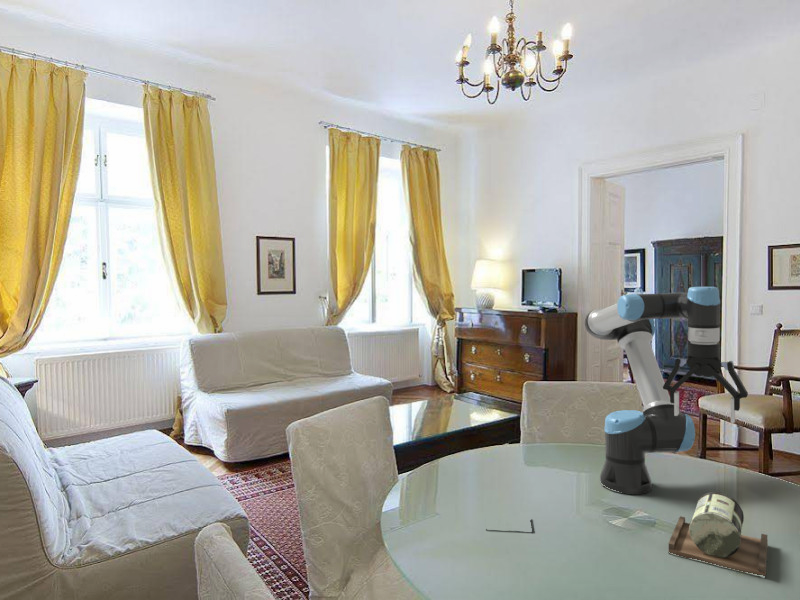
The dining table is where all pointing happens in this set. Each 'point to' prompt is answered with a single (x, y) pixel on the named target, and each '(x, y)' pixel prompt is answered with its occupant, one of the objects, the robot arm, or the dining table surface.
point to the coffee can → (717, 525)
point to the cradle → (745, 559)
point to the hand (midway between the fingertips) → (703, 418)
